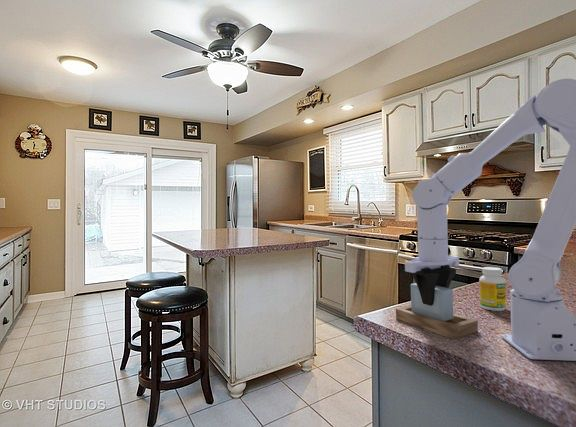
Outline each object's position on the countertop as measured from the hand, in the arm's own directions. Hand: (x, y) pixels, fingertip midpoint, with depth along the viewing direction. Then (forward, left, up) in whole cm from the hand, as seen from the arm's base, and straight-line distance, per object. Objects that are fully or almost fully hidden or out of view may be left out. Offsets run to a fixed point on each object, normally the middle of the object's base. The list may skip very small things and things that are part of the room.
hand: (433, 303), depth 69 cm
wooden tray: (0, 0, -4) cm, 4 cm away
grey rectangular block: (0, 0, -3) cm, 3 cm away
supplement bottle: (+13, -17, -5) cm, 22 cm away
